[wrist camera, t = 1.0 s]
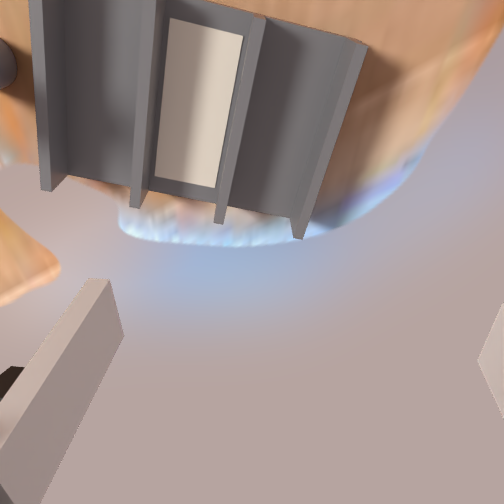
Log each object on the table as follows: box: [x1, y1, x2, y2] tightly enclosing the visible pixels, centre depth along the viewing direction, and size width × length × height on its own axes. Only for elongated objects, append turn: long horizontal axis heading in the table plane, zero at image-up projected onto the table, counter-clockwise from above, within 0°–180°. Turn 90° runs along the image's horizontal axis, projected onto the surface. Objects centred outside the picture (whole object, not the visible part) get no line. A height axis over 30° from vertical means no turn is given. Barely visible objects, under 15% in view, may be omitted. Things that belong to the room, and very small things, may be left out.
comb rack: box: [28, 0, 368, 240], centre depth 31 cm, size 15×22×5 cm
